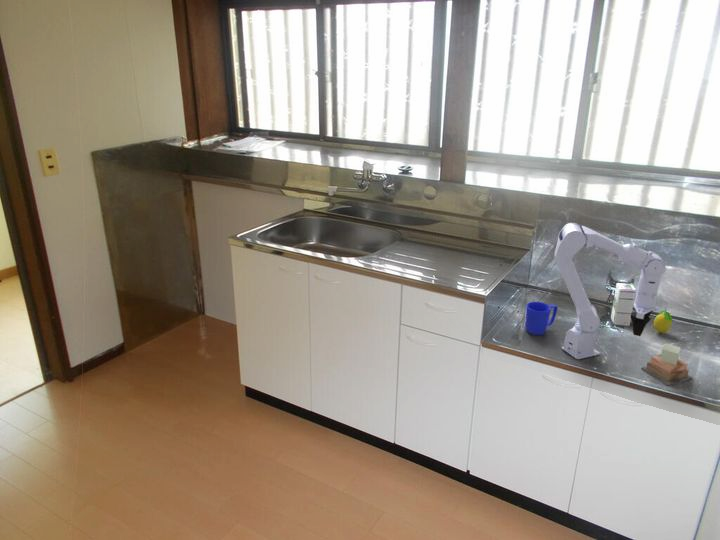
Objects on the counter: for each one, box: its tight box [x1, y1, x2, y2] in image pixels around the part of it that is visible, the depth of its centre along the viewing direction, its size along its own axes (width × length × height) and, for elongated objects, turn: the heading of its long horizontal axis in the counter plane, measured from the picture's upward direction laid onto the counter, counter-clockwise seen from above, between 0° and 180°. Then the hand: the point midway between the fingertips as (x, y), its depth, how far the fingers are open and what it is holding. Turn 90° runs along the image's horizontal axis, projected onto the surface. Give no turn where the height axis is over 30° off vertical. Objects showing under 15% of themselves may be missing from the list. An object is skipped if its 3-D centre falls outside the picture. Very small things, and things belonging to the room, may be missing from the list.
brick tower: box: [640, 353, 693, 386], centre depth 171 cm, size 10×10×5 cm
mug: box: [525, 301, 558, 336], centre depth 197 cm, size 8×12×10 cm
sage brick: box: [660, 343, 681, 365], centre depth 170 cm, size 4×4×4 cm
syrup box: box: [610, 282, 637, 327], centre depth 202 cm, size 6×6×14 cm
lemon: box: [653, 307, 673, 334], centre depth 195 cm, size 7×6×10 cm
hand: (638, 330), depth 178 cm, fingers open, 7 cm apart
